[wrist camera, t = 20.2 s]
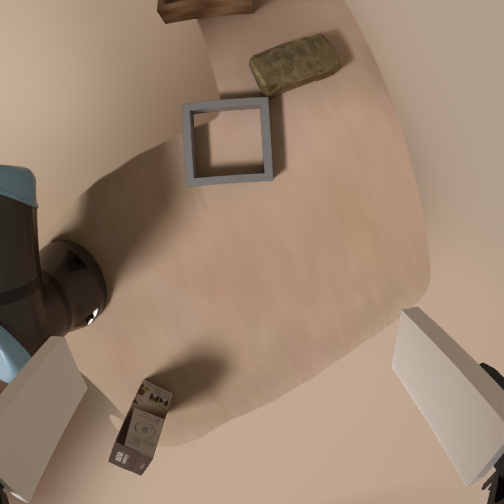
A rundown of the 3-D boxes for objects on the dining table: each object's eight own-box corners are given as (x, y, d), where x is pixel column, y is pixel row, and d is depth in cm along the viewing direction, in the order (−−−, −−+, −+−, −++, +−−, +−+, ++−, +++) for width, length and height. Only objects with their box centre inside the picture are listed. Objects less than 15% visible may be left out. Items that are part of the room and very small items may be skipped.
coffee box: (143, 377, 48) (115, 441, 32) (174, 392, 49) (154, 458, 33) (131, 403, 50) (106, 461, 34) (159, 417, 51) (141, 477, 35)
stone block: (246, 69, 34) (246, 56, 29) (317, 42, 33) (326, 28, 28) (265, 103, 36) (268, 93, 31) (337, 75, 34) (348, 64, 30)
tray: (190, 185, 39) (186, 186, 36) (186, 108, 36) (181, 104, 33) (271, 180, 38) (273, 180, 36) (266, 101, 35) (268, 97, 33)
